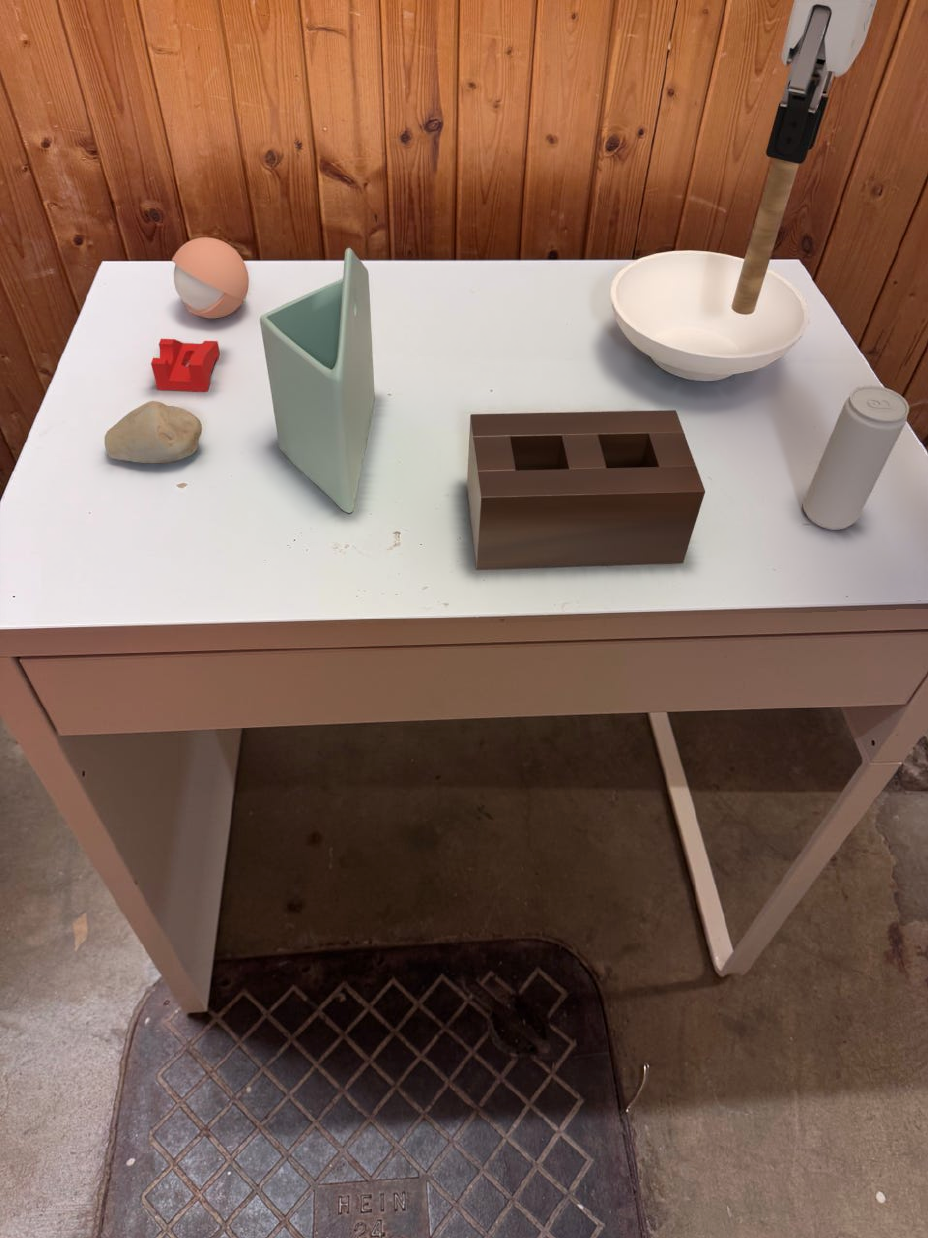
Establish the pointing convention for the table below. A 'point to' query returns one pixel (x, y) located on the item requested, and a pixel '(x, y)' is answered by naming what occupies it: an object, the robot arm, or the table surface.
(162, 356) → the bracket
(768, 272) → the bowl
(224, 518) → the table surface
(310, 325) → the planter
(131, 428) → the stone
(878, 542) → the table surface
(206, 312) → the toy ball
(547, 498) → the holder
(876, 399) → the beverage can
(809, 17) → the robot arm
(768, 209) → the stirring stick
